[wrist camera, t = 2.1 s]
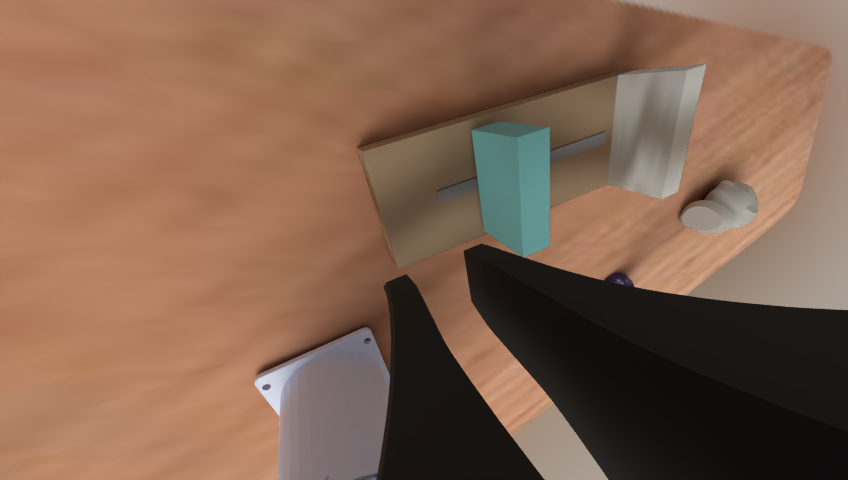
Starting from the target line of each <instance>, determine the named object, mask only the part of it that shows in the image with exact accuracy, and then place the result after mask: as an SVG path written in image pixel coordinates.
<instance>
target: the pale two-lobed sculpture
mask: <svg viewBox="0 0 848 480" xmlns="http://www.w3.org/2000/svg"><path fill="white" fill-rule="evenodd" d="M757 213H758V200H757V197H756V194H755V191H754V190H753V188H752V187H750V186H748V185H746V184H743V183H734V182H731V181H729V180H723V181H721V182H720V183H719V184H718V185H717V187H716V188H715V189H714V190H712V191H711V192H710V193H709V194H708V195H707V196H706V198H705V199H704V200H700V201H695V202H692V203H690V204H689V205H687V206H686V207H685V208H684V209H683V210H682V212H681V215H680V220H681V222H682V223H683V224H684V225H685V226H686V227H687V228H689V229H692V230H694V231H697V232H701V233H709V234H710V233H718V232H722V231H726V230H728V229H735V228H739V227H742V226H744V225H746V224H747V223H749V222H750V221H751V220H752V219H753V218H754V217H755V216H756V214H757Z"/></svg>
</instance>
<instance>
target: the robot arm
mask: <svg viewBox="0 0 848 480" xmlns="http://www.w3.org/2000/svg"><path fill="white" fill-rule="evenodd" d="M464 256H465V263H466V269H467V275H468V282H469V288H470V294H471V301H472V303H473V304H474V306H475V307H476V309H477V310H478V312H479V313H480V315H481V316H482V318H483V319H484V321H485V322H486V324H487V325H488V326H489V328H490V329H491V330H492V331H493V333H494V334H495V335H496V336H497V337H498V338H499V339H500V341H501V342H502V343H503V344H504V345H505V346H506V348H507V349H508V350H509V351H510V352H511V353H512V354H513V356H514V357H515V358H516V359H517V360H518V361H519V362H520V363H521V365H522V366H523V367H524V368H525V369H526V370H527V371H528V373H529V374H530V375H531V376H532V377H533V378H534V379H535V380H536V382H537V383H538V384H539V385H540V386H541V387H542V389H543V390H544V391H545V392H546V394H547V395H548V396H549V397H550V398H551V400H552V401H553V402H554V404H555V405H556V406H557V408H558V409H559V410H560V412H561V413H562V414H563V416H564V417H565V419H566V420H567V421H568V423H569V424H570V426H571V427H572V428H573V430H574V431H575V432H576V434H577V435H578V437H579V438H580V439H581V441H582V442H583V444H584V445H585V447H586V448H587V449H588V451H589V452H590V454H591V455H592V456H593V458H594V459H595V461H596V462H597V463H598V465H599V466H600V468H601V469H602V471H603V472H604V474H605V475H606V477H607V478H608V480H848V310H831V309H812V308H811V309H810V308H795V307H783V306H771V305H760V304H749V303H738V302H730V301H721V300H713V299H705V298H698V297H691V296H684V295H677V294H670V293H664V292H658V291H652V290H646V289H641V288H636V287H631V286H626V285H622V284H617V283H612V282H607V281H603V280H599V279H595V278H591V277H587V276H583V275H580V274H576V273H572V272H569V271H565V270H562V269H558V268H555V267H552V266H548V265H545V264H542V263H539V262H536V261H533V260H530V259H527V258H524V257H521V256H518V255H515V254H512V253H509V252H506V251H503V250H500V249H497V248H494V247H491V246H488V245H484V244H479V245H477V246H474V247H472V248H470V249H467V250H465V251H464ZM384 290H385V292H386V295H387V298H388V304H389V311H390V324H391V367H390V375H389V372H388V370H387V367H386V365H385V362H384V360H383V358H382V355H381V353H380V350H379V348H378V346H377V343H376V341H375V338H374V336H373V334H372V331H371V329H370V328H368V327H364V328H361V329H359V330H357V331H355V332H352V333H350V334H348V335H346V336H343V337H341V338H339V339H337V340H334V341H332V342H330V343H328V344H325V345H323V346H321V347H319V348H316V349H314V350H312V351H310V352H307V353H305V354H303V355H301V356H298V357H296V358H294V359H292V360H289V361H287V362H285V363H283V364H280V365H278V366H276V367H273V368H271V369H269V370H267V371H264V372H262V373H260V374H258V375H257V376H256V377H255V383H254V384H255V386H256V387H257V388H258V390H259V391H260V392H261V393H262V395H263V396H264V397H265V399H266V400H267V401H268V402H269V404H270V405H271V406H272V407H273V409H274V410H275V411H276V413H277V414H278V415H279V416H280V418H279V446H278V474H277V480H544V479H543V477H542V476H541V475H540V473H539V472H538V471H537V470H536V468H535V467H534V466H533V464H532V463H531V462H530V460H529V459H528V458H527V456H526V455H525V454H524V452H523V451H522V450H521V449H520V447H519V446H518V445H517V443H516V442H515V441H514V439H513V438H512V437H511V435H510V434H509V433H508V431H507V430H506V429H505V428H504V426H503V425H502V424H501V422H500V421H499V420H498V418H497V417H496V415H495V414H494V413H493V411H492V410H491V408H490V407H489V406H488V404H487V403H486V402H485V400H484V399H483V397H482V396H481V395H480V393H479V392H478V391H477V389H476V388H475V386H474V385H473V384H472V382H471V381H470V379H469V378H468V376H467V375H466V374H465V372H464V371H463V369H462V368H461V366H460V365H459V363H458V362H457V361H456V359H455V358H454V356H453V355H452V353H451V352H450V350H449V348H448V347H447V345H446V343H445V341H444V340H443V338H442V336H441V334H440V332H439V330H438V328H437V326H436V324H435V322H434V320H433V318H432V316H431V314H430V312H429V310H428V308H427V306H426V304H425V302H424V300H423V298H422V296H421V294H420V292H419V290H418V288H417V286H416V285H415V284H414V283H413V281H412V280H411V279H410V278H409V277H408V276H407V275H403V276H401V277H398V278H396V279H393V280H391V281H388V282H386V284H385V286H384ZM366 338H369V339H368V340H365V339H366ZM265 384H269V385H265Z"/></svg>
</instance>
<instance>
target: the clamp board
mask: <svg viewBox="0 0 848 480" xmlns="http://www.w3.org/2000/svg"><path fill="white" fill-rule="evenodd" d="M705 68H706V64H701V65H689V66H677V67H665V68H653V69H641V70H638V69H634V70H622V71H615V72H612V73H609V74H605V75H602V76H598V77H595V78H592V79H588V80H585V81H581V82H578V83H575V84H571V85H568V86H564V87H561V88H558V89H554V90H551V91H547V92H544V93H541V94H537V95H534V96H531V97H527V98H524V99H520V100H517V101H514V102H510V103H507V104H503V105H500V106H497V107H493V108H490V109H486V110H483V111H480V112H476V113H473V114H469V115H466V116H463V117H459V118H456V119H453V120H449V121H446V122H442V123H439V124H436V125H432V126H429V127H425V128H422V129H419V130H415V131H412V132H408V133H405V134H402V135H398V136H395V137H392V138H388V139H385V140H381V141H378V142H375V143H371V144H368V145H364V146H361V147H358V148H357V150H358V154H359V157H360V160H361V163H362V166H363V169H364V173H365V176H366V179H367V182H368V185H369V188H370V192H371V195H372V198H373V201H374V204H375V207H376V211H377V214H378V217H379V220H380V223H381V226H382V230H383V233H384V236H385V239H386V242H387V245H388V249H389V252H390V255H391V258H392V260H393V262H394V263H395V265H396V267H397V268H398V270H399V269H402V268H404V267H407V266H409V265H412V264H414V263H416V262H419V261H421V260H424V259H426V258H429V257H431V256H434V255H436V254H438V253H441V252H443V251H446V250H448V249H451V248H453V247H456V246H458V245H461V244H463V243H465V242H468V241H470V240H473V239H475V238H478V237H480V236H483V235H485V234H487V233H486V232H485V231H484V227H483V219H482V210H481V202H480V194H479V186H478V178H477V170H476V162H475V154H474V146H473V138H472V130H473V129H476V128H479V127H483V126H486V125H489V124H492V123H496V122H509V123H518V124H527V125H536V126H545V127H550V208H551V207H554V206H556V205H558V204H561V203H563V202H566V201H568V200H571V199H573V198H576V197H578V196H580V195H583V194H585V193H588V192H590V191H593V190H595V189H598V188H600V187H603V186H605V185H610V186H614V187H618V188H621V189H625V190H629V191H633V192H636V193H640V194H644V195H647V196H651V197H655V198H658V199H663V198H665V197H668V196H670V195H672V194H674V193H677V192H678V188H679V184H680V179H681V175H682V170H683V166H684V161H685V157H686V152H687V148H688V144H689V139H690V135H691V130H692V126H693V121H694V117H695V113H696V108H697V104H698V99H699V95H700V90H701V86H702V81H703V77H704V73H705Z"/></svg>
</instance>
